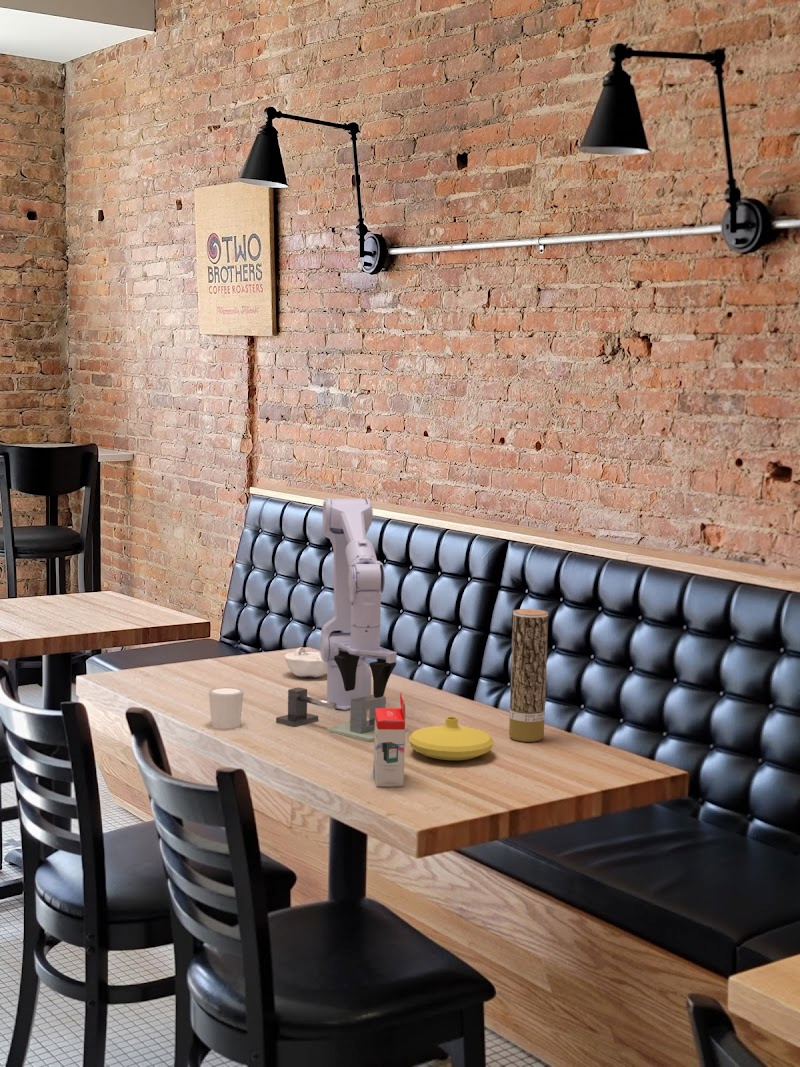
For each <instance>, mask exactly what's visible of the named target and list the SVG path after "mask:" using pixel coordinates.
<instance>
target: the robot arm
mask: <svg viewBox="0 0 800 1067" xmlns="http://www.w3.org/2000/svg"><path fill="white" fill-rule="evenodd" d="M322 505H323V506H322V532H323V537H325V538H327V539H329V540H331V544H332V549H333V617H331V619H329V620H328V621H327V622H325V623H324V624H323V626H321V627H322V628H321V631H320V632H321V633H320V635H321V636H320V640H319V644H320V646H319V647H320V648H319V650H320V651H319V652H320V653H321V659H322V660H323V661H324V662H326V663H327V672H326V699H324V701H329V702H333V703H336V704H337V707H336V709H339V710H341V711H342V710H343V711H347V710H350V709H351V700H353V699H357V698H361V697H365V696H369V695H372V693H373V694H374V698H379V697H383V696H385V692H386V688H387V684H388V681H389V680H390V677H391V675H392V673H393V670H394V669H395V668H396V666H397V651H393V650H391V649H387V648H384V647H382V646H381V611H382V610H381V607H382V605H381V604H382V594H381V593H384V590H385V583H386V574H385V567H384V564H383V563H382V562H381V561H380V560H378V559H377V555H376V551H375V548H374V544H373V543H372V542H371V541H370V540H369V539H367V534H368V532H369V530H370V527H371V525H372V524H373V514H374V513H373V512H374V511H373V503H372V501H371V500H370V498H368V497H365V498H330V497H326V498H325V500H324V501H323V504H322ZM338 631H350V632H338ZM368 659H371V660H372V659H373V660H376V661H372V662H369V664H368V663H366V661H367V660H368ZM372 685H373V686H372ZM372 687H373V688H372ZM372 690H373V692H372Z"/></svg>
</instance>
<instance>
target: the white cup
mask: <svg viewBox="0 0 800 1067" xmlns="http://www.w3.org/2000/svg"><path fill="white" fill-rule="evenodd" d="M244 694H245V693H244V690H243V689H242V688H236V687H225V686H224V687H216V688H212V689H210V690H209V691H208V697H209V700H208V701H209V710H210V720H211V726H212V728H215V729H220V730H229V729H236V728H238V727H240V726H241V720H242V713H243V702H244Z"/></svg>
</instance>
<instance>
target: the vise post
mask: <svg viewBox="0 0 800 1067" xmlns="http://www.w3.org/2000/svg"><path fill="white" fill-rule="evenodd" d="M287 691H288V692H287V714H285V715H282V716H277V717H276V718H275V723H277V724H281V725H284V726H289V727H293V728H295V727H300V726H303V725H306V724H311V723H315V722H318V721H319V715H318V714H317V715H316V714H313V713H308V704H311V705H314V706H315V705H316V706H320V707H324V708H327V709H332V710H335V709H337V708H336V707H337V704H336V703H333V702H329V701H324V700H325V699H324V700H323V699H320V698H316V697H311V696H308V689H307V688H303V687H299V686H298V687H293V688H289V689H288V690H287Z"/></svg>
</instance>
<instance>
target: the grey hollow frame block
mask: <svg viewBox="0 0 800 1067" xmlns="http://www.w3.org/2000/svg"><path fill="white" fill-rule="evenodd" d="M386 697H387V696H385V695H384V696H383V697H379V698H374V693H373V694H371V695H369V696H365V697H361V698H357V699H353V700H351V709H349V711H350V712H349V714H350V716H349V718H350V722H349V723H350V731H351V732H355V733H359V734H364V733H367V732H371V731H374V730H375V708H387V707H386V706H387V703H386V702H387V700H386V699H387V698H386ZM368 710H369V711H368ZM367 712H369V717H368V718H367V716H368V715H367V714H368V713H367ZM367 719H369V720H368V721H367Z"/></svg>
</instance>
